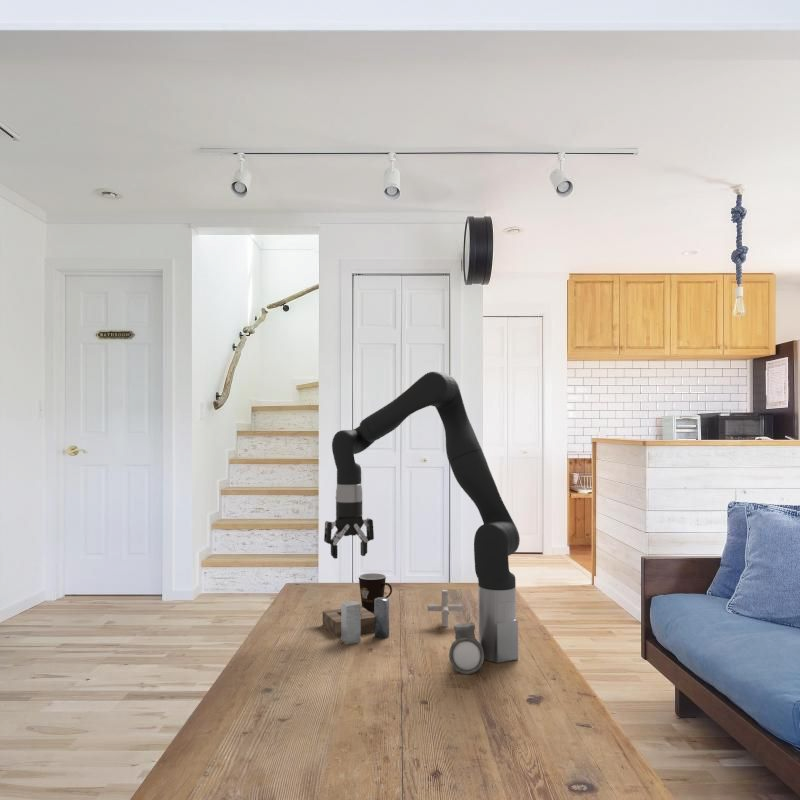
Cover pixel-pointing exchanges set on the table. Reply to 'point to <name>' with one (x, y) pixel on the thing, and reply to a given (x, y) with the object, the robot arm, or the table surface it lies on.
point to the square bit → (351, 622)
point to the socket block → (334, 621)
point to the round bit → (381, 617)
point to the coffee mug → (372, 589)
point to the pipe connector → (445, 608)
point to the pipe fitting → (466, 650)
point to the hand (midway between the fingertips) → (349, 556)
